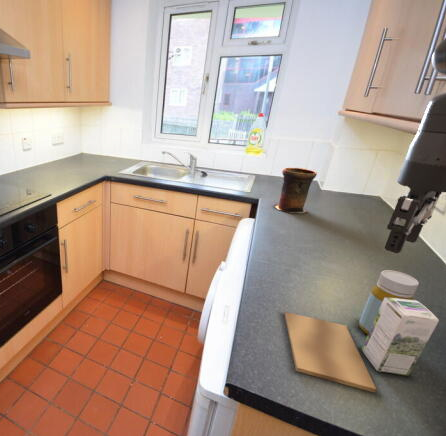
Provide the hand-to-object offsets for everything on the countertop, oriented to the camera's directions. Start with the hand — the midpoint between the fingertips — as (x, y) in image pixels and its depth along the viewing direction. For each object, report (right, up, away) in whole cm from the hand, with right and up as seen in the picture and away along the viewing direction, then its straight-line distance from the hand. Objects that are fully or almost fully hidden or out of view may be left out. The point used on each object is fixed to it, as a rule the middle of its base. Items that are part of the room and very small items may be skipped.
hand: (400, 245), depth 56 cm
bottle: (+8, -22, +14) cm, 27 cm away
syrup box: (+2, -25, +6) cm, 26 cm away
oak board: (-8, -23, +9) cm, 26 cm away
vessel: (+34, +10, +95) cm, 101 cm away
